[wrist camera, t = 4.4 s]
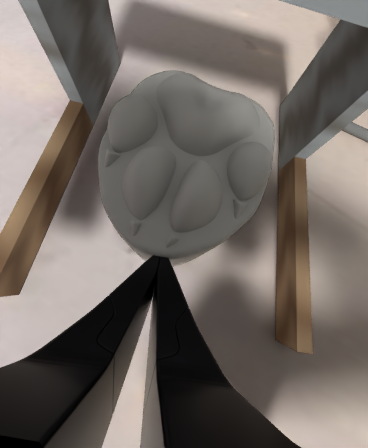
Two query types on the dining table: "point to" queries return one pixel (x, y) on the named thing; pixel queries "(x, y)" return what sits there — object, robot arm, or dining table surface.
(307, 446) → the dining table surface
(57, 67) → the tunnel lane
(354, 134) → the newton's cradle
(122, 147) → the grey animal paw
